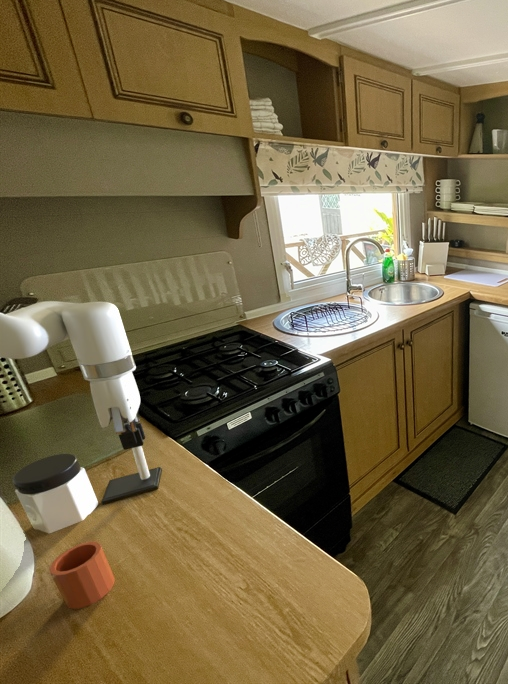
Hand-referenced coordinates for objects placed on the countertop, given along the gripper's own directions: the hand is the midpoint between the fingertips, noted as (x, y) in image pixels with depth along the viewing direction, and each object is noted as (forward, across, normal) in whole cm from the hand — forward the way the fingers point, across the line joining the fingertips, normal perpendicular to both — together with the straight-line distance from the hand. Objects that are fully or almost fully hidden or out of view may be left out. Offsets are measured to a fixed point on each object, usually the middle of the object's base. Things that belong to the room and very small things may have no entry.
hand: (134, 443), depth 78 cm
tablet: (+10, 0, -2) cm, 11 cm away
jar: (+11, +4, -12) cm, 16 cm away
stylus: (+9, 0, 0) cm, 9 cm away
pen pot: (+10, +26, -4) cm, 28 cm away
